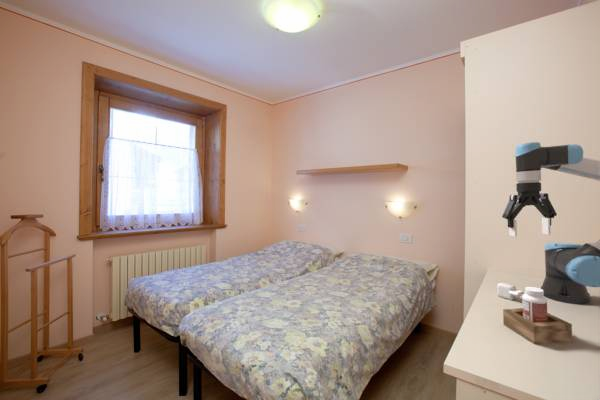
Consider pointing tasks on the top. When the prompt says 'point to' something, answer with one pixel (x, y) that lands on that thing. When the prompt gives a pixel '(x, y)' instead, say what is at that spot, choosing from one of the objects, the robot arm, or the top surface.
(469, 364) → the top surface
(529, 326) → the wooden box
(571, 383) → the top surface
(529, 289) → the pill bottle
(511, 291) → the power adapter
